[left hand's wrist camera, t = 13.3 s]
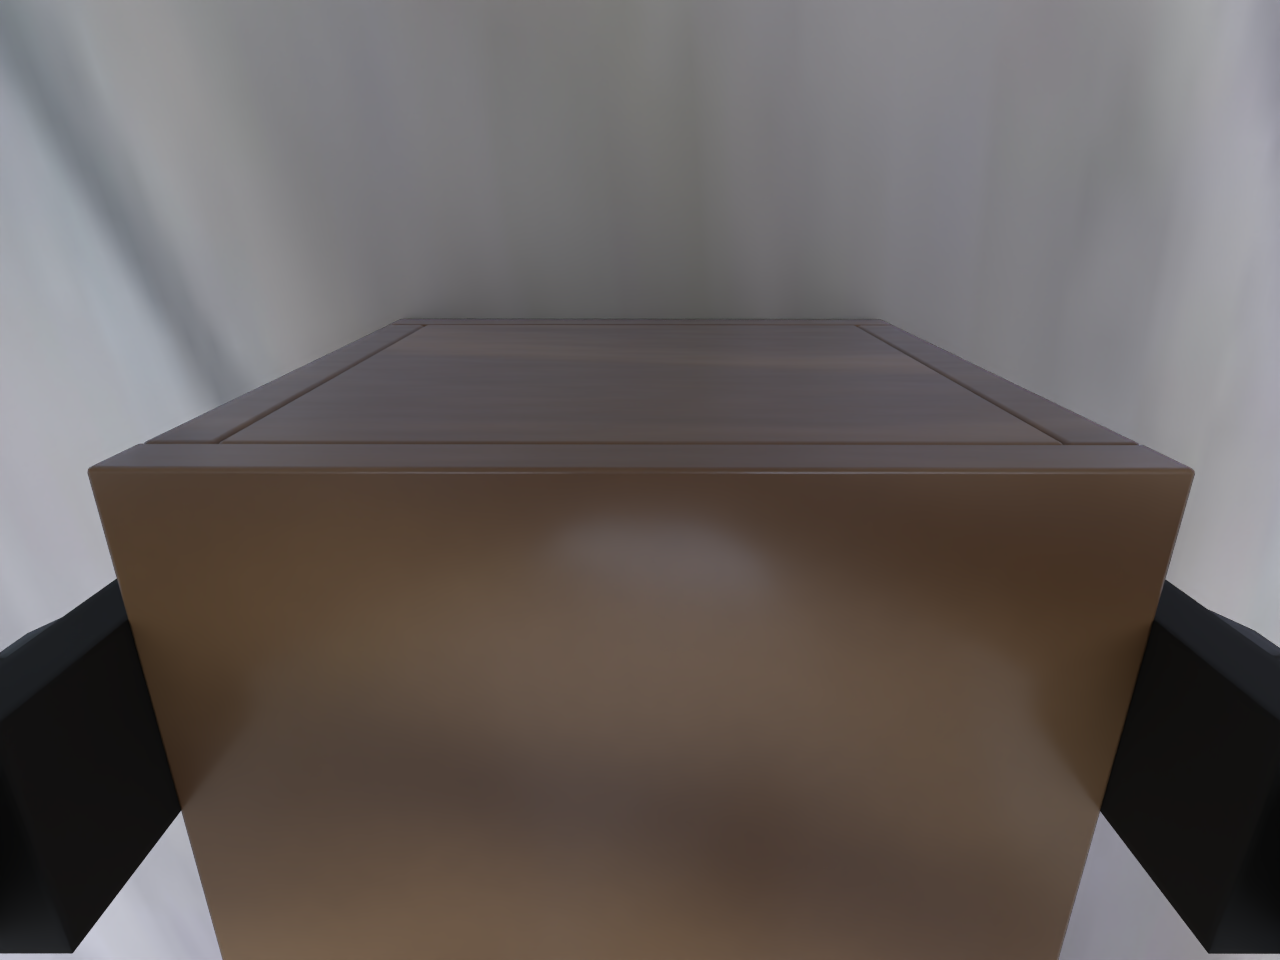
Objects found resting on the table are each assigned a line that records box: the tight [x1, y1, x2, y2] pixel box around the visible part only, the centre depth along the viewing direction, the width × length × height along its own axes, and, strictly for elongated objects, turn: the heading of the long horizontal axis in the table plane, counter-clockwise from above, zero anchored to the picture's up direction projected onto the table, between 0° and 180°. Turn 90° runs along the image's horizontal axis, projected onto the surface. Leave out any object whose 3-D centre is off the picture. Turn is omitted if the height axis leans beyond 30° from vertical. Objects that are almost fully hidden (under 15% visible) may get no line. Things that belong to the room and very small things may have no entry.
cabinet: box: [88, 319, 1195, 960], centre depth 16 cm, size 21×11×10 cm, turn 0°
